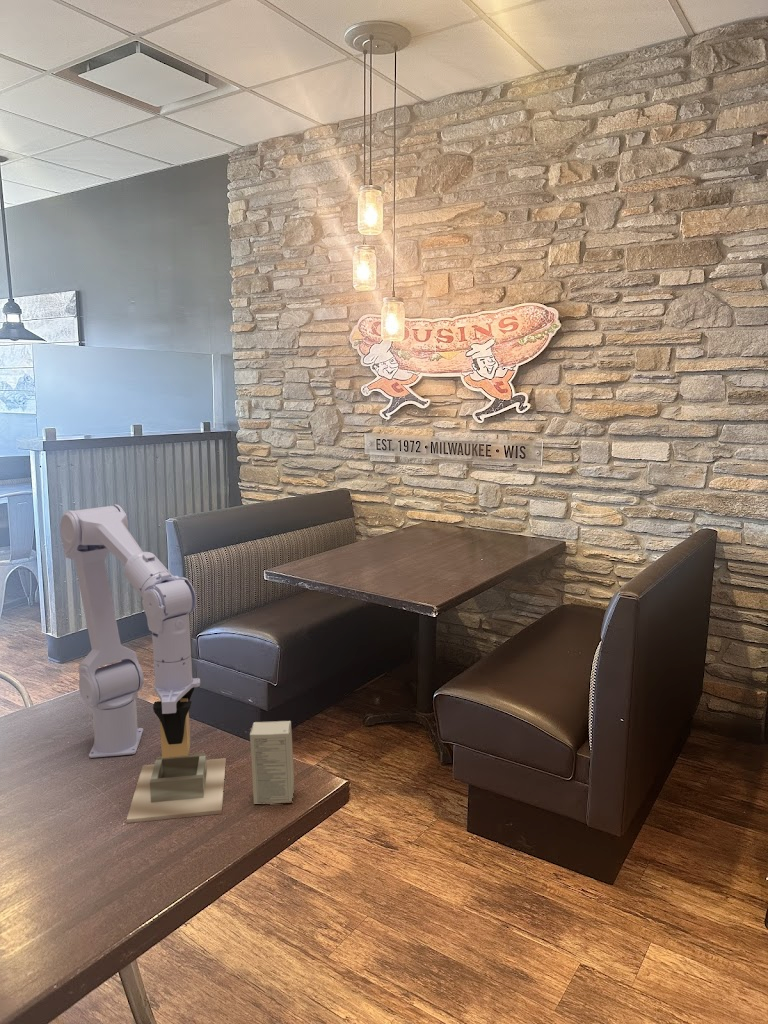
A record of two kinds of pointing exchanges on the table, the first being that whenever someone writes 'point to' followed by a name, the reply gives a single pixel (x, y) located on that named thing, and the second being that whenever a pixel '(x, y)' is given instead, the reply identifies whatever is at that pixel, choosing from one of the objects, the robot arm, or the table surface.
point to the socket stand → (178, 788)
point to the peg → (176, 749)
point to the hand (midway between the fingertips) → (176, 736)
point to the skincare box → (272, 762)
